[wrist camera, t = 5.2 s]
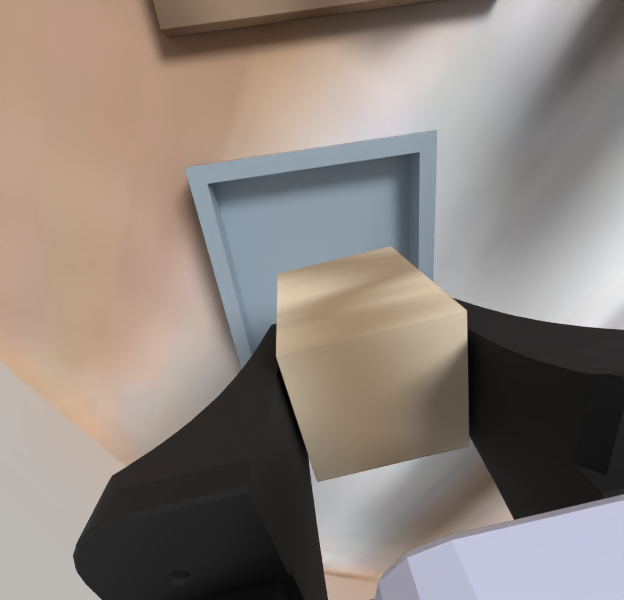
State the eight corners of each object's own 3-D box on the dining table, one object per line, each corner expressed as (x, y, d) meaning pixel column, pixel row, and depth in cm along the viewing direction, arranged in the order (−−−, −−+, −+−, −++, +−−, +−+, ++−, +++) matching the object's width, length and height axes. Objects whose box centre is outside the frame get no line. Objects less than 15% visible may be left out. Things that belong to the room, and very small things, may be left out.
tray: (420, 132, 17) (437, 130, 15) (418, 326, 22) (430, 342, 20) (195, 165, 16) (184, 167, 15) (245, 354, 21) (242, 373, 19)
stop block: (390, 246, 11) (466, 310, 7) (402, 341, 13) (469, 445, 8) (277, 273, 11) (275, 356, 7) (304, 365, 13) (317, 482, 8)
